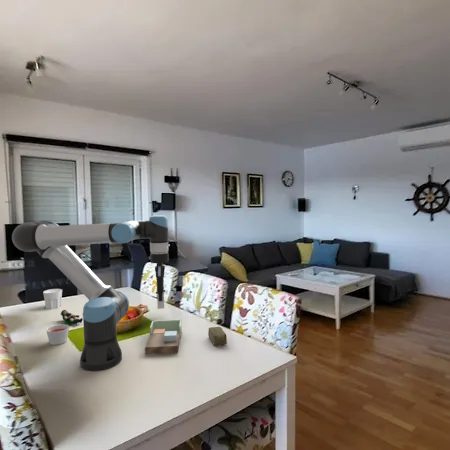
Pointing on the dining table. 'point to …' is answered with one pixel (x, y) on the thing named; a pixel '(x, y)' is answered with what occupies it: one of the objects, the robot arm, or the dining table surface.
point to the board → (161, 345)
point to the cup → (53, 298)
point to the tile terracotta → (158, 331)
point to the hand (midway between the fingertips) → (160, 307)
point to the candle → (57, 334)
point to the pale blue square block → (170, 336)
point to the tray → (167, 325)
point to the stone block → (217, 336)
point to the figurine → (70, 318)
